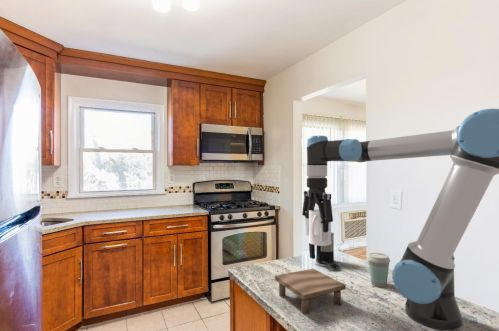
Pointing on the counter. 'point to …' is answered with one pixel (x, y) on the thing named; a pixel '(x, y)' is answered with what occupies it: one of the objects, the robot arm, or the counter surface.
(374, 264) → the coffee cup
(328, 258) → the milk frother
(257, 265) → the counter surface
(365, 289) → the counter surface
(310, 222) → the mug
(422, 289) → the robot arm
